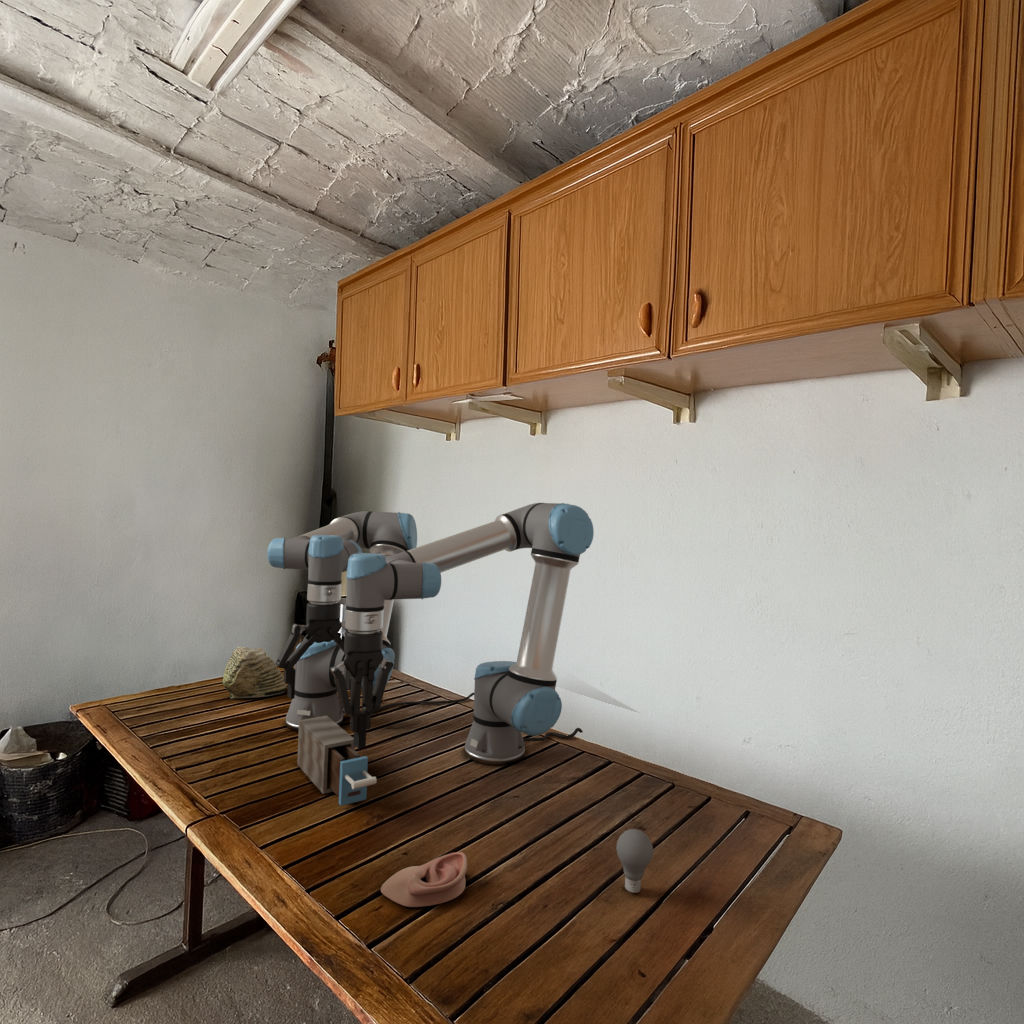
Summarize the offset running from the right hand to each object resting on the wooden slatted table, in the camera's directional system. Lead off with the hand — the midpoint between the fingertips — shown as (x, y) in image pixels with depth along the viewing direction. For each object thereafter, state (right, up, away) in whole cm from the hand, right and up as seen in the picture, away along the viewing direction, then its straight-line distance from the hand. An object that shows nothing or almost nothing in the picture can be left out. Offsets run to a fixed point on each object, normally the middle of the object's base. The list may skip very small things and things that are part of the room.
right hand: (359, 745), depth 128 cm
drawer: (-5, -12, +6) cm, 14 cm away
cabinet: (-12, -13, +16) cm, 23 cm away
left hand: (-14, +5, +19) cm, 24 cm away
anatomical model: (+17, -15, -24) cm, 33 cm away
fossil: (-50, -10, +70) cm, 86 cm away
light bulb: (+51, -16, -23) cm, 58 cm away
